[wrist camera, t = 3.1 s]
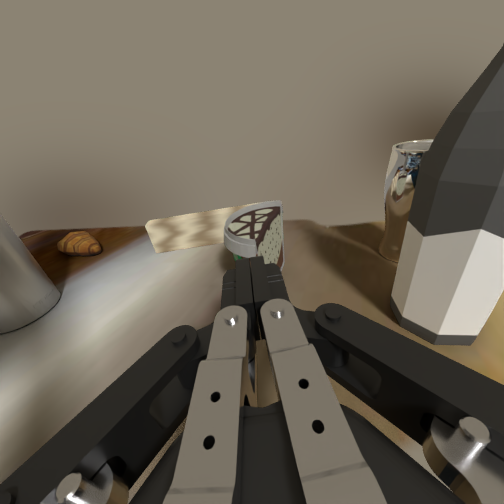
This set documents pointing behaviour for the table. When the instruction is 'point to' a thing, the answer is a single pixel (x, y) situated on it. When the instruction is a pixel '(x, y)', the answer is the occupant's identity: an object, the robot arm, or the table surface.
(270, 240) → the food container
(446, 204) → the wine bottle
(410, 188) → the beer glass
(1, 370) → the table surface
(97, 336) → the table surface
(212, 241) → the maple board
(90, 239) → the croissant
